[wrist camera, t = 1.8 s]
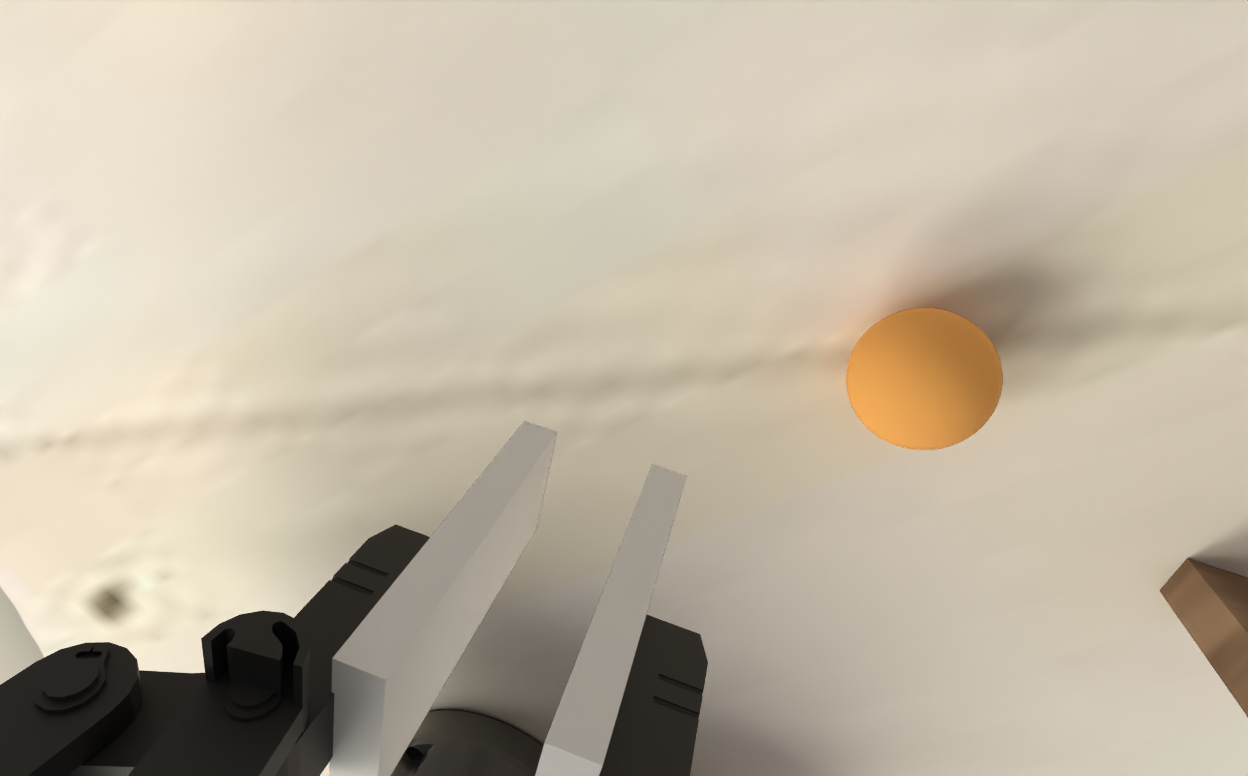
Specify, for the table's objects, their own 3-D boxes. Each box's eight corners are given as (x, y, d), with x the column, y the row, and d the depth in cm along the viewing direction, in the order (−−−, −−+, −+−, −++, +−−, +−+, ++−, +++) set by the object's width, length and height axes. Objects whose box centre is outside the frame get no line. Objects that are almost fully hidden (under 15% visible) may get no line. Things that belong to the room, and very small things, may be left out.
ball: (945, 426, 29) (974, 497, 24) (823, 388, 29) (827, 449, 24) (1008, 313, 26) (1054, 366, 21) (872, 273, 27) (888, 316, 22)
